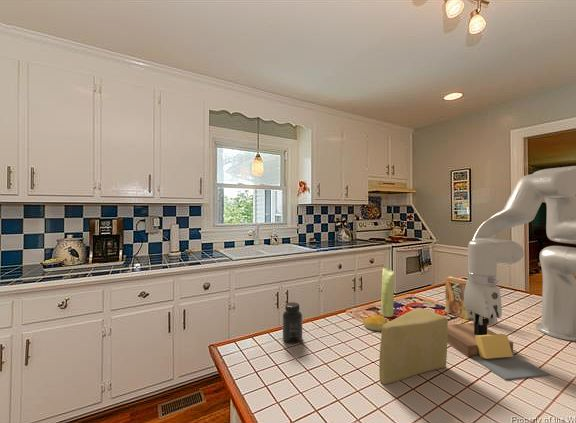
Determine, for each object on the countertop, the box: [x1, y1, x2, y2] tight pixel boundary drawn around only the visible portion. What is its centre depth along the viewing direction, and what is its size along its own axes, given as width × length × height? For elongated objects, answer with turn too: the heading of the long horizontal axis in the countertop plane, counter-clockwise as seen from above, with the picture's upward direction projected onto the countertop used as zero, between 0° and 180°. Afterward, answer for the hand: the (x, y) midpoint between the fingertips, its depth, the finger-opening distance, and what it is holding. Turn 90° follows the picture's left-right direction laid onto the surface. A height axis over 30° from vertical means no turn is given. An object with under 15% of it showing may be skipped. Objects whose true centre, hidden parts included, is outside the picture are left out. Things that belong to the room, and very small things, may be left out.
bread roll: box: [362, 314, 389, 332], centre depth 103 cm, size 8×9×4 cm
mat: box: [471, 352, 550, 381], centre depth 78 cm, size 14×11×1 cm
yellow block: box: [475, 333, 514, 359], centre depth 82 cm, size 9×6×2 cm
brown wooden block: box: [447, 322, 514, 358], centre depth 90 cm, size 16×14×4 cm
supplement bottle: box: [282, 301, 303, 344], centre depth 93 cm, size 7×7×12 cm
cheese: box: [378, 307, 449, 385], centre depth 75 cm, size 22×10×15 cm, turn 120°
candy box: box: [445, 276, 472, 320], centre depth 114 cm, size 9×4×15 cm, turn 33°
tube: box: [380, 267, 395, 318], centre depth 113 cm, size 6×5×20 cm
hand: (480, 335), depth 87 cm, fingers closed
